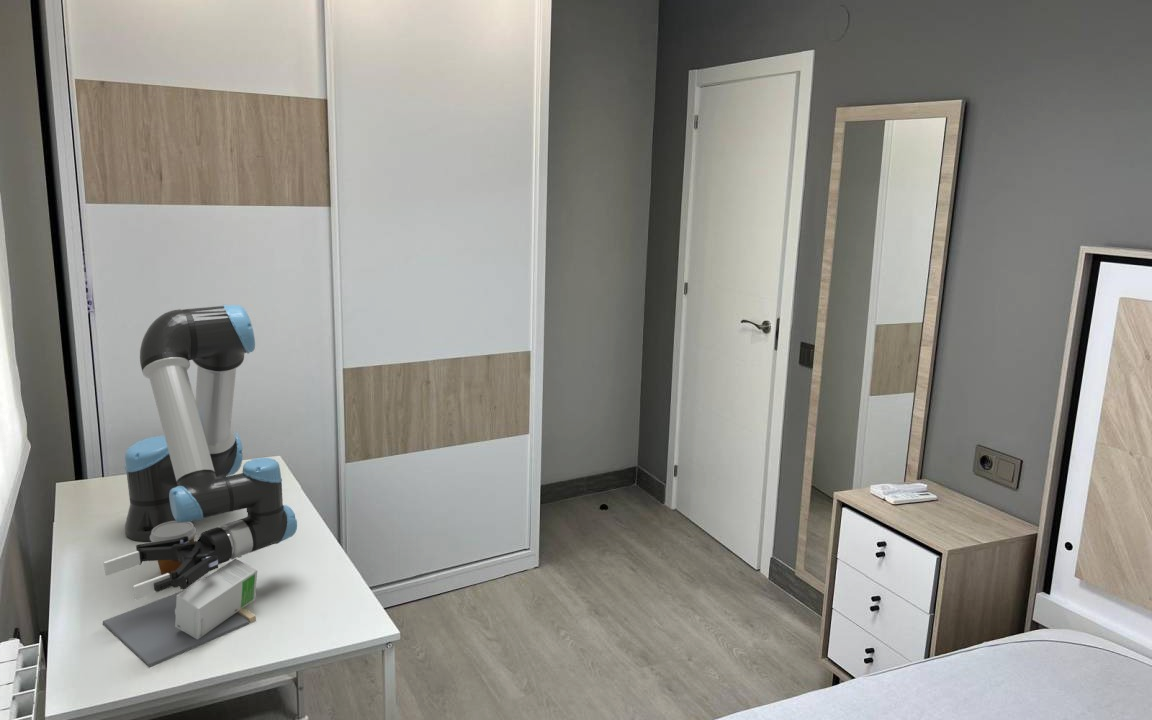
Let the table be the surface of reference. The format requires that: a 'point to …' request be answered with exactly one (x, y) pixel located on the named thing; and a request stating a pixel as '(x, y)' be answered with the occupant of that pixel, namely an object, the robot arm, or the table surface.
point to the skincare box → (215, 598)
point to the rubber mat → (165, 630)
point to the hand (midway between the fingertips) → (119, 580)
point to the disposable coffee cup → (168, 533)
